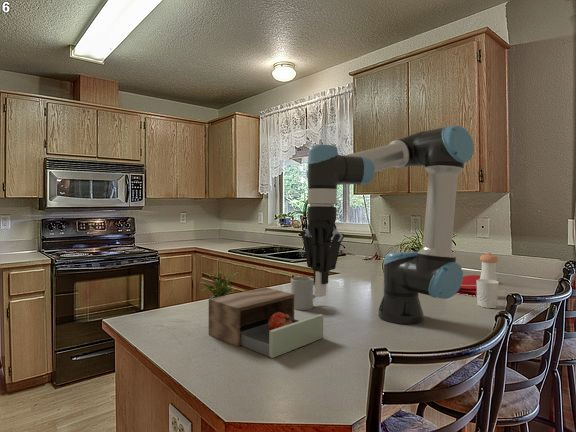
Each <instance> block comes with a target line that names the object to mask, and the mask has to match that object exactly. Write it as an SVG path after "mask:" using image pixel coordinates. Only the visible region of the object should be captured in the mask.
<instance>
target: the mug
mask: <svg viewBox="0 0 576 432" xmlns="http://www.w3.org/2000/svg"><path fill="white" fill-rule="evenodd" d="M313 279H314V278H312V277H309V276H294V277H291V278H290V293H291V294H294V310H295V311H308V310H311V309H313V308H314V299H315V298H317V297H316V296H315V292H314V286H315V283H314V281H313Z"/></svg>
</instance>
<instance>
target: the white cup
mask: <svg viewBox="0 0 576 432" xmlns="http://www.w3.org/2000/svg"><path fill="white" fill-rule="evenodd" d="M476 284H477V296H476V302H477V306H478V305H479V306H481V307H480V308H482V307H486V308H485V309H489V308H494V309H496V308H497V306H498V300H499V299H498V298H499V291H500V290H499V289H500V281H498V280H497V281H495V280H488V279H478V280H476ZM479 306H478V307H479Z"/></svg>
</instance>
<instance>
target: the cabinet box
mask: <svg viewBox="0 0 576 432" xmlns="http://www.w3.org/2000/svg"><path fill="white" fill-rule="evenodd" d="M210 298H211V297H210ZM210 298H208V335H209V336H211V337H213V338H216V339H218V340H220V341H223V342H226V343H228V344H230V345H232V346H235V347H240V346H241V345H240V332H241V327H244V326H247V325H250V324H251V325H252V324H254V323H258V322H261V321H264V320H265V321H268V320H269V319H270V317H271V316H272V315H273V314H274V313H278V312H281V313H283V314H288V315H289V316H290V317H291V318H292V319H295V309H294V294H291V292H287V291H282V290H278V289H275V288H269V287H264V286H263V287H260V288H255V289H249V290H246V291H241V292H237V293H236V292H235V293H231V294H226V296H221V297H216V298H211V299H210Z"/></svg>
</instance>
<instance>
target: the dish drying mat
mask: <svg viewBox="0 0 576 432" xmlns="http://www.w3.org/2000/svg"><path fill="white" fill-rule="evenodd" d="M480 276H481V275H477V274H476V275H475V274H474V275H465V276H464V275H463V281H462V284H461V287H460V288H459V290H458V291H457V292H456V293H460V294H459V295H461V294H468V295H475V296H476V295H477V284H476V280H478V279H480ZM476 297H477V296H476Z"/></svg>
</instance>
